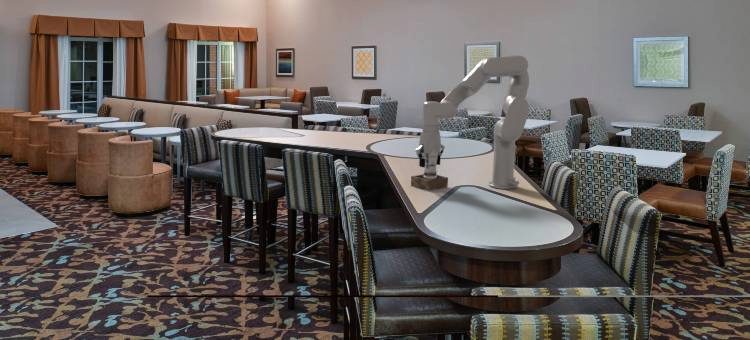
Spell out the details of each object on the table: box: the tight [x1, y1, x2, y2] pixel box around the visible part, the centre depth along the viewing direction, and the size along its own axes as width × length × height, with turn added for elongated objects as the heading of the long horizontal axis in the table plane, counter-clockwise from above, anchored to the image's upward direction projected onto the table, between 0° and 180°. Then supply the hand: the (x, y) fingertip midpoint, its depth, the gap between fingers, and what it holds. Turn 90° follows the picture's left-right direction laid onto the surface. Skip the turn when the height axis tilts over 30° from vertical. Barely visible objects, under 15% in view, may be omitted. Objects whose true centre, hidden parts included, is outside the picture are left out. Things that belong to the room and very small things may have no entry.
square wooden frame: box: [410, 173, 449, 192], centre depth 266 cm, size 12×12×4 cm
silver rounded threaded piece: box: [423, 150, 438, 180], centre depth 264 cm, size 6×7×20 cm
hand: (429, 165), depth 264 cm, fingers open, 9 cm apart
